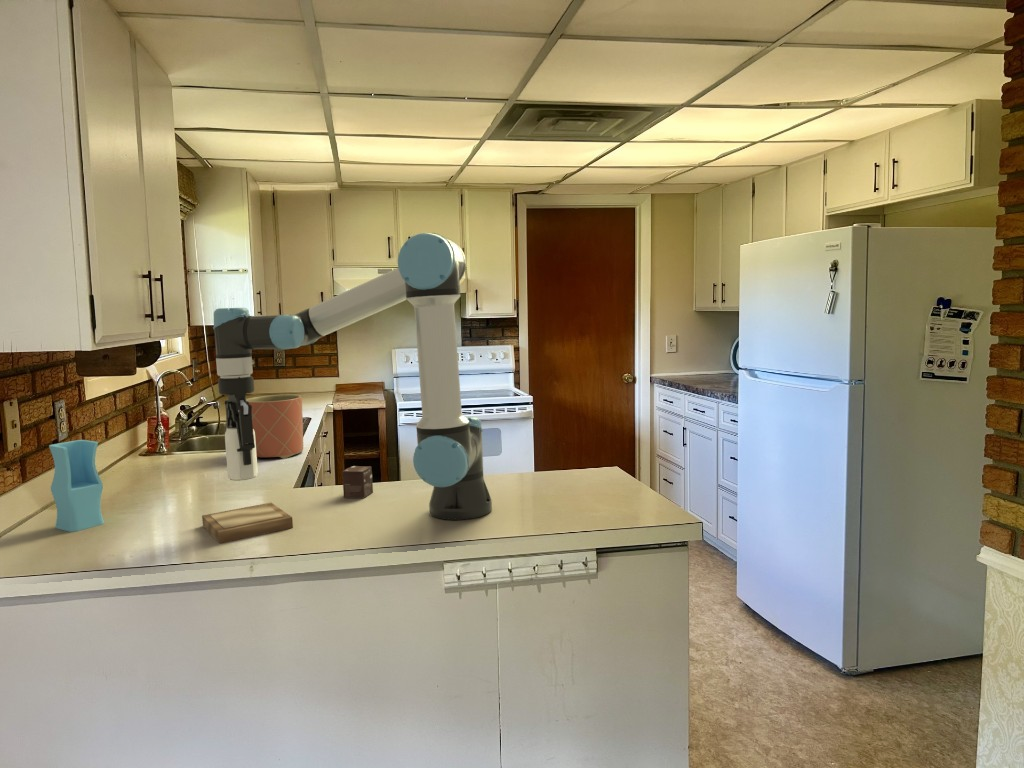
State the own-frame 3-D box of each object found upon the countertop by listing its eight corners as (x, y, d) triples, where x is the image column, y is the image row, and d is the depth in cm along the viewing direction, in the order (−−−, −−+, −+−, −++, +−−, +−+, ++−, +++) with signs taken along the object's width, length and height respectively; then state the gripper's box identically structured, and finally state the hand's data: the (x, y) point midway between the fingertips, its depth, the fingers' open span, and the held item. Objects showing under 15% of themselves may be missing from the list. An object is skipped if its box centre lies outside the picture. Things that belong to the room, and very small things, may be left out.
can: (264, 475, 161) (260, 424, 160) (242, 482, 155) (238, 429, 154) (243, 473, 164) (239, 423, 163) (221, 479, 158) (217, 427, 157)
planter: (236, 460, 234) (232, 402, 232) (265, 449, 253) (261, 394, 250) (289, 461, 231) (285, 401, 229) (314, 449, 250) (311, 394, 247)
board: (293, 527, 159) (292, 516, 159) (219, 543, 150) (218, 531, 150) (271, 512, 172) (270, 501, 172) (202, 525, 163) (202, 514, 162)
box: (364, 498, 182) (362, 471, 181) (343, 498, 183) (341, 471, 182) (373, 492, 188) (372, 466, 187) (352, 492, 189) (351, 465, 188)
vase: (71, 532, 161) (62, 448, 159) (55, 527, 165) (45, 445, 163) (106, 523, 168) (98, 441, 165) (89, 518, 172) (81, 439, 170)
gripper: (265, 377, 151) (272, 480, 154) (241, 372, 167) (248, 465, 170) (229, 380, 147) (237, 486, 150) (208, 374, 163) (215, 470, 165)
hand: (243, 475), depth 160 cm, fingers closed on can, 6 cm apart
